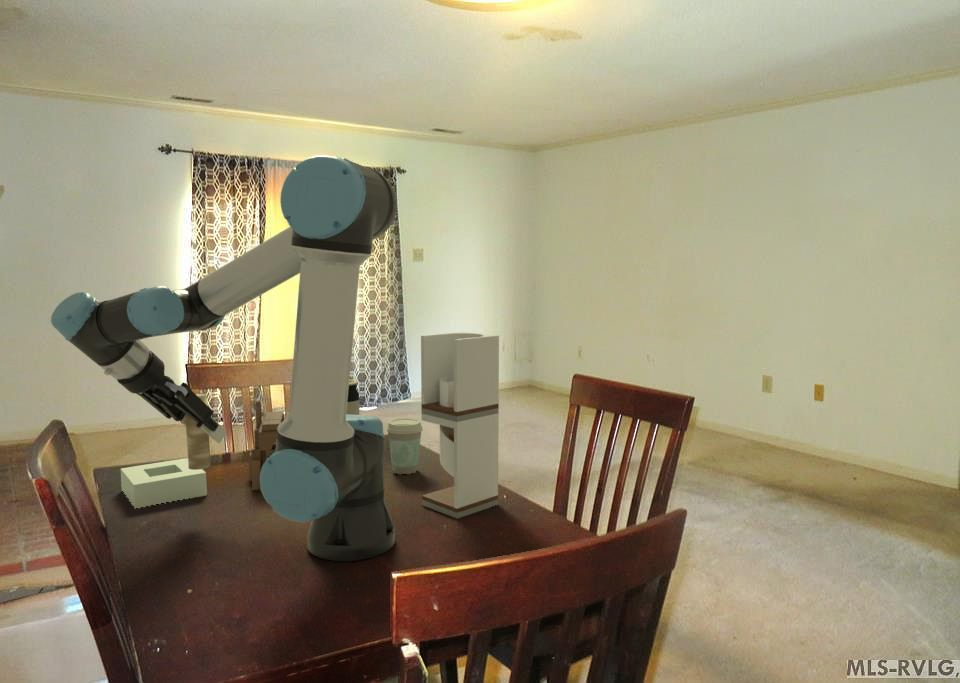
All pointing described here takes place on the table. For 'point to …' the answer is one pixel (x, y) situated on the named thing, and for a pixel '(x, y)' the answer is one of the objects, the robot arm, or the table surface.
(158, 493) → the socket block
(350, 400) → the travel mug
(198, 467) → the dowel
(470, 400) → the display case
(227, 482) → the table surface
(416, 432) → the coffee cup
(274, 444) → the wooden puzzle
